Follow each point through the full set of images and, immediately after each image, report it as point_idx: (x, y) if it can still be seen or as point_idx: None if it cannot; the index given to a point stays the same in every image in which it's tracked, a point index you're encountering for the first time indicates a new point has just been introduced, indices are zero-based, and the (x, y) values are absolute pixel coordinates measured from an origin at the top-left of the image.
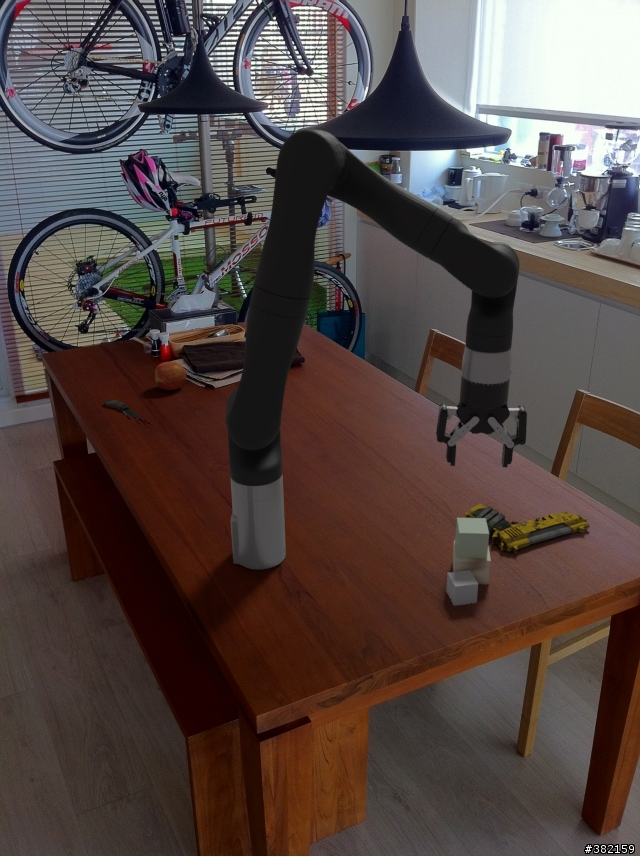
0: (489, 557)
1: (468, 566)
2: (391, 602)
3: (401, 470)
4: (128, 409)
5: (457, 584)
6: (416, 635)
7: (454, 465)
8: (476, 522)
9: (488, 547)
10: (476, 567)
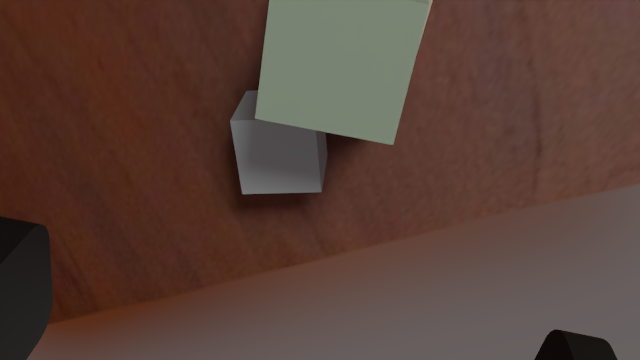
0: None
1: None
2: (72, 117)
3: None
4: None
5: (251, 185)
6: (139, 248)
7: (42, 324)
8: (365, 38)
9: (426, 17)
10: None
